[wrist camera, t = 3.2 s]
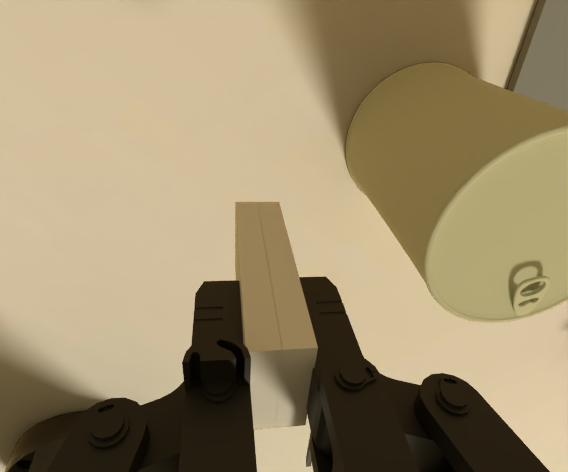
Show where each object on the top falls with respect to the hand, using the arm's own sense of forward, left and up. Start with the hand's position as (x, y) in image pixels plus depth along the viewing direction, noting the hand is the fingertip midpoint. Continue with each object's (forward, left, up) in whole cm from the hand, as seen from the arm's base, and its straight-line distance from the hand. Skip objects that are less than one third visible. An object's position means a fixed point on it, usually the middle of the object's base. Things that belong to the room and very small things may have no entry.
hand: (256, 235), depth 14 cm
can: (+11, 0, -11) cm, 16 cm away
